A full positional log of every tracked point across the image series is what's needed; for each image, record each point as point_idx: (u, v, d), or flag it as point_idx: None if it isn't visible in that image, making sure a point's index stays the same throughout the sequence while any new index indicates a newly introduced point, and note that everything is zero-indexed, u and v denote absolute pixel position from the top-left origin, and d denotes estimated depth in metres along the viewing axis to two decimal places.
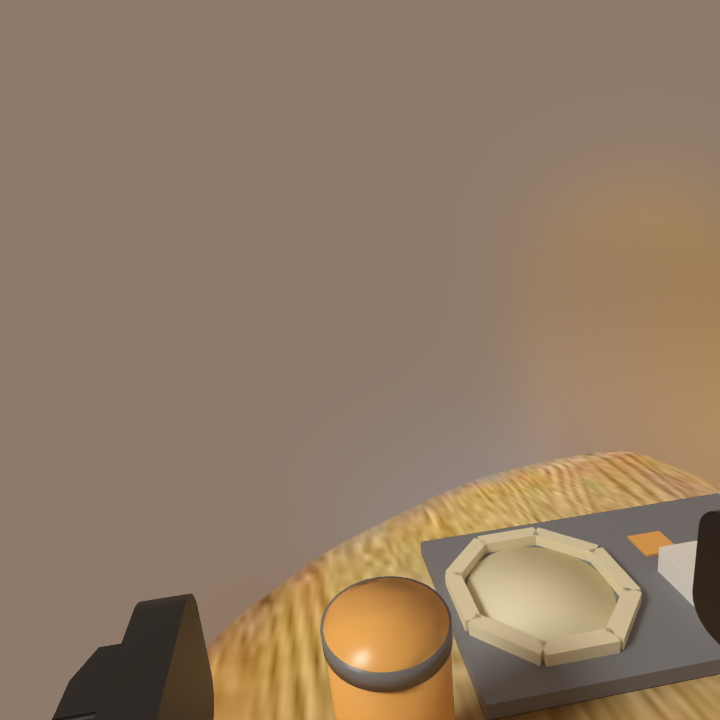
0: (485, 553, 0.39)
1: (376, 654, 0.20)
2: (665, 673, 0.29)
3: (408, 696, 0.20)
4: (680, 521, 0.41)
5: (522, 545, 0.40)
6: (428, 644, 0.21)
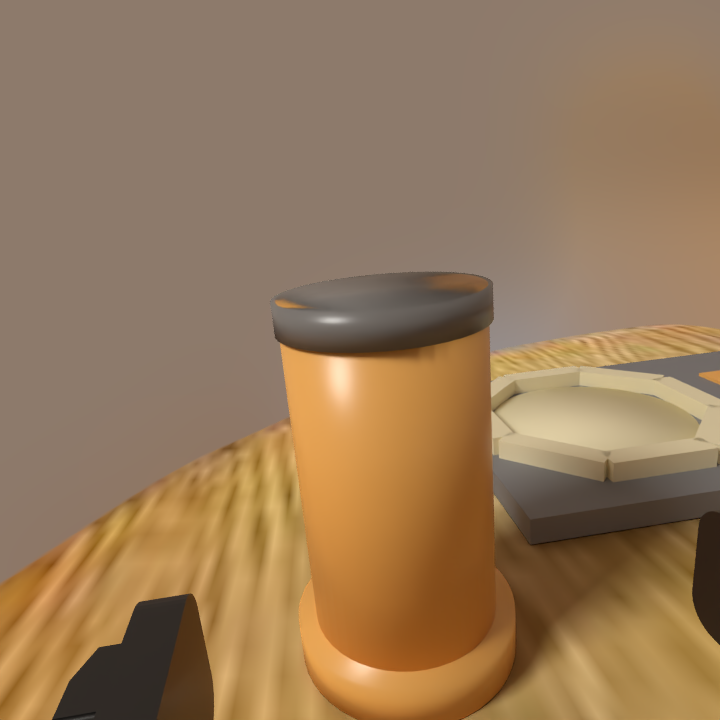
0: (514, 393, 0.30)
1: (363, 304, 0.12)
2: None
3: (419, 368, 0.11)
4: None
5: (562, 385, 0.31)
6: (454, 293, 0.12)
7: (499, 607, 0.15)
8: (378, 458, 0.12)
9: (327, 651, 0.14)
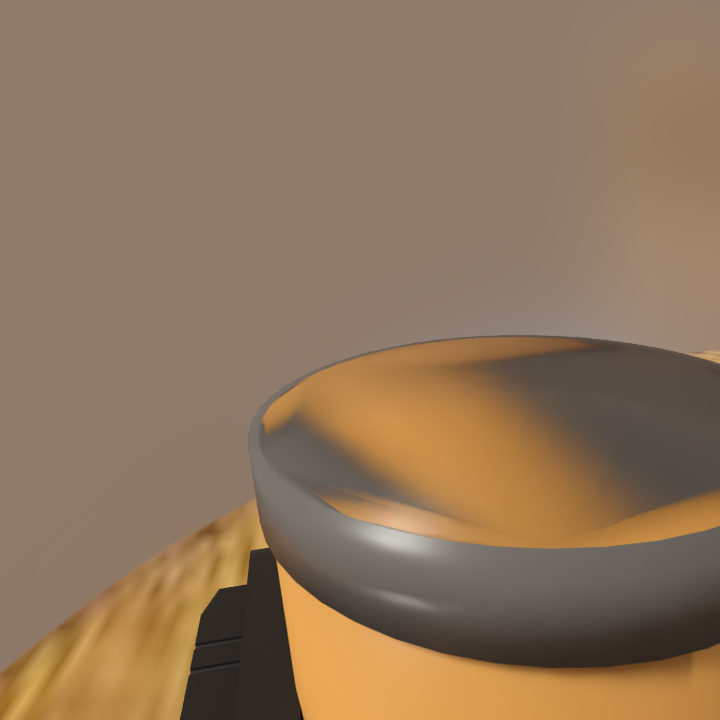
0: None
1: (503, 485, 0.04)
2: None
3: (685, 694, 0.04)
4: None
5: None
6: None
7: None
8: None
9: None
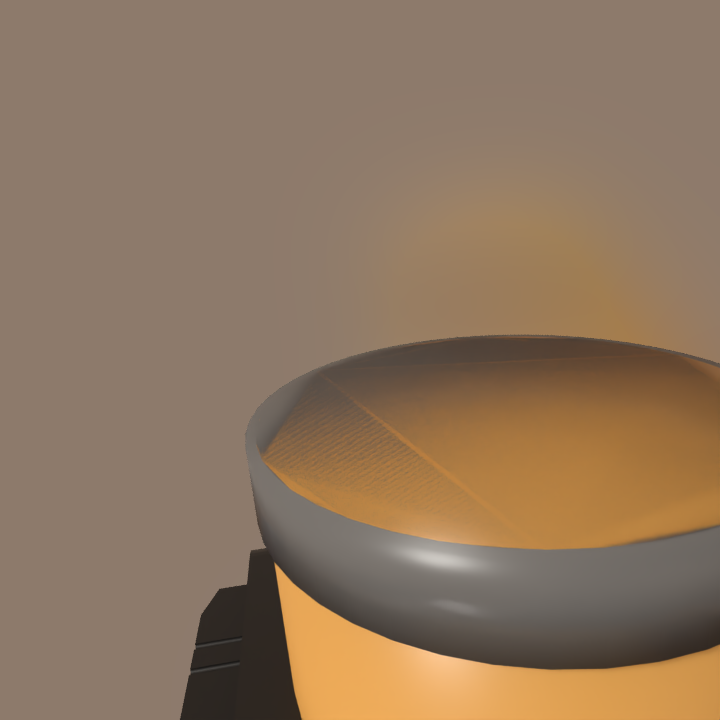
0: None
1: (502, 484, 0.04)
2: None
3: (685, 694, 0.04)
4: None
5: None
6: None
7: None
8: None
9: None
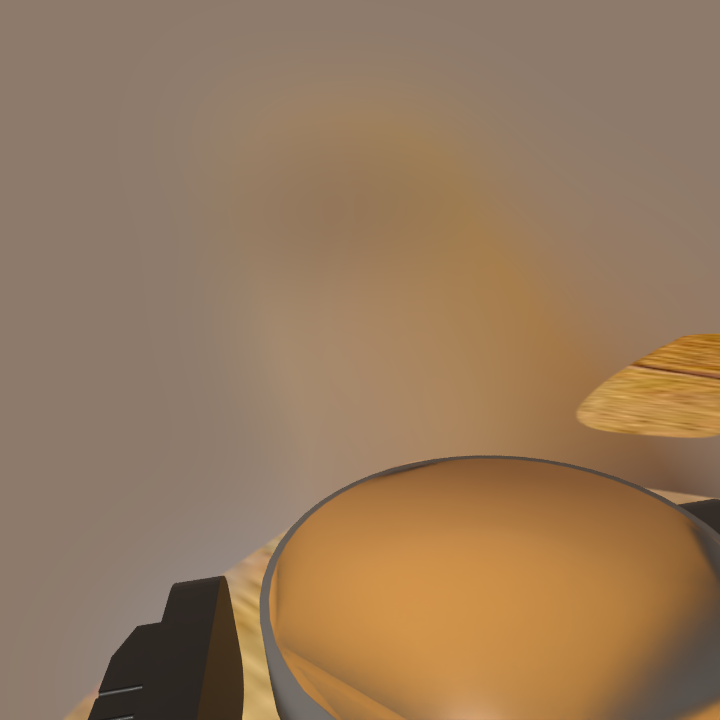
0: None
1: (490, 692, 0.05)
2: None
3: None
4: None
5: None
6: (706, 647, 0.05)
7: None
8: None
9: None
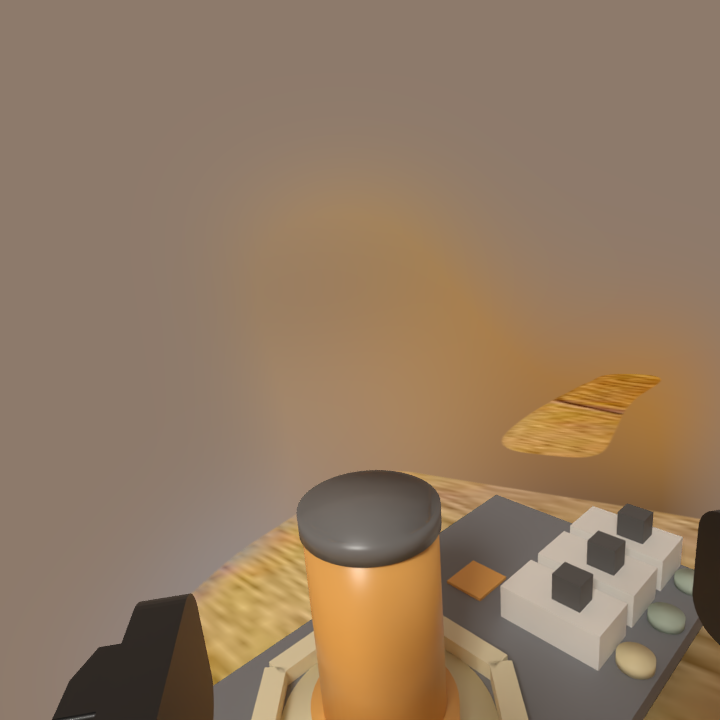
0: (286, 685, 0.25)
1: (357, 530, 0.18)
2: None
3: (390, 574, 0.18)
4: (485, 540, 0.34)
5: None
6: (414, 521, 0.19)
7: (448, 706, 0.22)
8: (365, 626, 0.19)
9: None
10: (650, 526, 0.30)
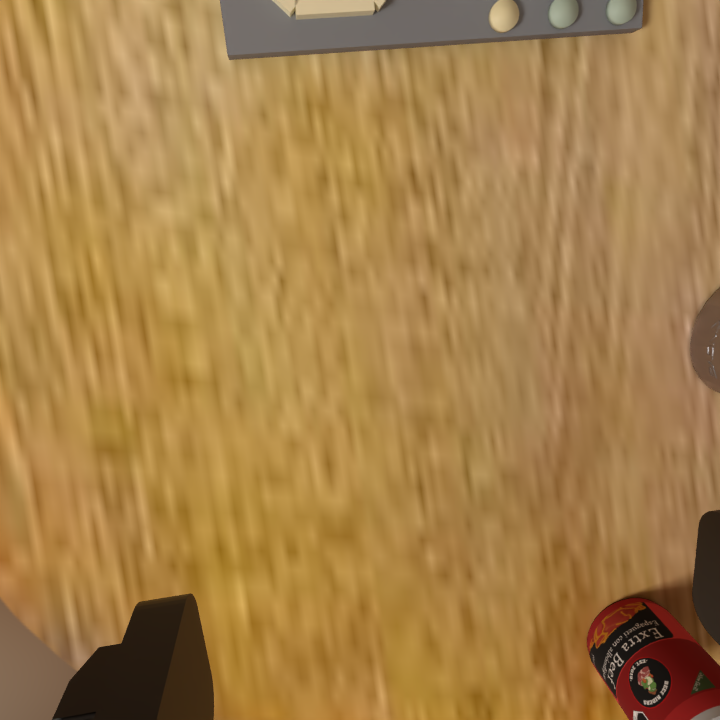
0: None
1: None
2: (402, 44, 0.31)
3: None
4: None
5: None
6: None
7: None
8: None
9: None
10: None
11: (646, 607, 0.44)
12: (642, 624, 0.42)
